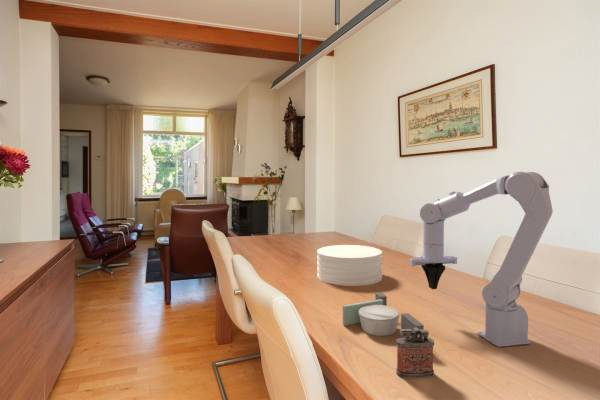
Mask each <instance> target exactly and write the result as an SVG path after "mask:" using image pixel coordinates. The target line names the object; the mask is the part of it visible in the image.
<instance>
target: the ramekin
mask: <svg viewBox="0 0 600 400" xmlns="http://www.w3.org/2000/svg"><path fill="white" fill-rule="evenodd" d="M359 316H360V321H361V322H360V326H361V329H362V330H363V331H364V332H365V333H367V334H369V335H371V336H376V337H387V336H391V335H393V334H394V333H396V331H397V328H398V321H399V318H400V312H399V310H397V309H396V308H394V307H392V306H389V305H387V306H385V305H367V306H364V307H362V308H360V309H359Z"/></svg>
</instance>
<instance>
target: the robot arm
mask: <svg viewBox="0 0 600 400" xmlns="http://www.w3.org/2000/svg"><path fill="white" fill-rule="evenodd" d="M497 195H503V196H504V195H510V197H511V198H512V199H514V200H515V201H516V202H518V203H519V205H520V207H521V208H522V210H523V212H524V214H525V215H524V216H523V218H522V220H521V223H520V225H519V227H518V229H517V231H516V234H515V236H514V238H513V240H512V242H511V245H510V247H509V248H508V251H507V252H506V255H505V257H504V260H503V262H502V264H501V265H500V268H499V270H498V271H497V272H496V273H495V274H494V275H493V277H492V279H491V281H490V283H489V282H488V284H487V285H485V286H484V287H483V289H482V291H481V292H482V300H483V301H484V302H485V315H484V316H485V318H484V319H485V320H484V323H485V325H484V326H485V327H484V328H485V329H484V330H483V331H478V332H477V335H479V336H480V337H481V338H483V339H485V340H487V341H488V342H489V343H491V344H493V345H495V346H496V347H499V348H500V347H507V346H508V347H511V346H519V345H527V344H528V345H529V344H531V341H530V340H528V338H529V317H528V313H527V311H526V309H525V308H524V307H523V306H522V305H519V304H517V301H516V300H517V299H518V298H520V295H521V284H522V281H523V274H524V272H525V270H526V269H527V266H528V264H529V262H530V260H531V258H532V256H533V254H534V251H535V250H536V248H537V246H538V243H539V242H540V240H541V237H542V236H543V234H544V232H545V230H546V228H547V225H548V223H549V221H550V219H551V217H552V215H553V206H552V201H551V196H550V185H549V183H548V182H547V181H546V180H545V178H544V177H543V176H542V175H541V174H540V173H538V172H534V171H528V172H524V171H516V172H512V173H511V174H507V175H504V176H501V177H498V178H496V179H493V180H491V181H489V182H487V183H485V184H482V185H481V186H478V187H476V188H474V189H472V190H470V191H468V192H466V193H464V192H461V191H451V192H449V195H448V196H445V197H443V198H441V199H440V198H437V199H434V203H431V202H430V203H428V202H427V203H426V204H424V205H423V206H422V207H421V208H420V209H419V217H420V219H421V220H422V221H423V223H422V224H423V225H422V226H423V231H422V233H423V237H422V238H423V240H422V244H423V245H422V248H423V249H422V256H419V257H418V256H417V257H412V258H409V259H408V265H409V266H411V267H416V266H421V268H422V269H423V272H424V274H425V277H426V280H427V282H428V288H430V289H431V290H437V289H438V285H439V282H440V279H441V277H442V275H443V273H444V272H445V270H446V265H445V264H447V265H449V264H452V265H456V264H457V265H458V257H456V256H454V255H450V256H449V255H446V256H445V253H444V248H445V247H444V242H445V241H444V239H445V236H444V235H445V230H444V228H445V221H446V220H447V219H449V218H451V217H454V216H456V215H457V216H458V215H459V214H462V213H465V212H466V211H468V210H469V208H470V206H471V205H473V204H474V203H476V202H480V201H482V200H485V199H488V198H491V197H494V196H497Z"/></svg>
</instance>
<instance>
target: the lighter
mask: <svg viewBox="0 0 600 400" xmlns="http://www.w3.org/2000/svg"><path fill="white" fill-rule="evenodd" d="M399 336H400V337H399V338H397V339H396V340H395V341H396V354H397V355H396V361H397V362H396V368H395V370H396V371H395V372H396V376H398V377H400V378H402V377H404V378H405V377H406V378H408V379H423V378H424V379H425V378H431V377H433V376H434V375H435V374H434V373H435V369H434V345H435V339H433V338H431V337H429V330H428V329H425V328H424V329H421V330H419V329H418V328H417V327H415V328H413V330H411V329H401V328H400V329H399ZM423 336H424V337H423ZM401 337H404V338H401Z"/></svg>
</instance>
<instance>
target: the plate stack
mask: <svg viewBox="0 0 600 400" xmlns="http://www.w3.org/2000/svg"><path fill="white" fill-rule="evenodd" d="M316 255H317V256H316V260H317V262H316V266H317V268H316V272H317V274H316V276H317V277H316V278H317V279H318V280H319V279H320V280H319V281H321V282H323V281H324V283H326V284H329V285H330V284H331V285H336V286H345V287H360V286H361V287H362V286H368V285H374V284H377V283H380V282H381V281H382V280H383V263H382V262H383V250H381V249H379V248H378V247H377V248H376V247H373V246H368V245H361V244H360V245H357V244H337V245H335V244H334V245H328V246H322V247H320V248H318V249H317V250H316Z"/></svg>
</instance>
